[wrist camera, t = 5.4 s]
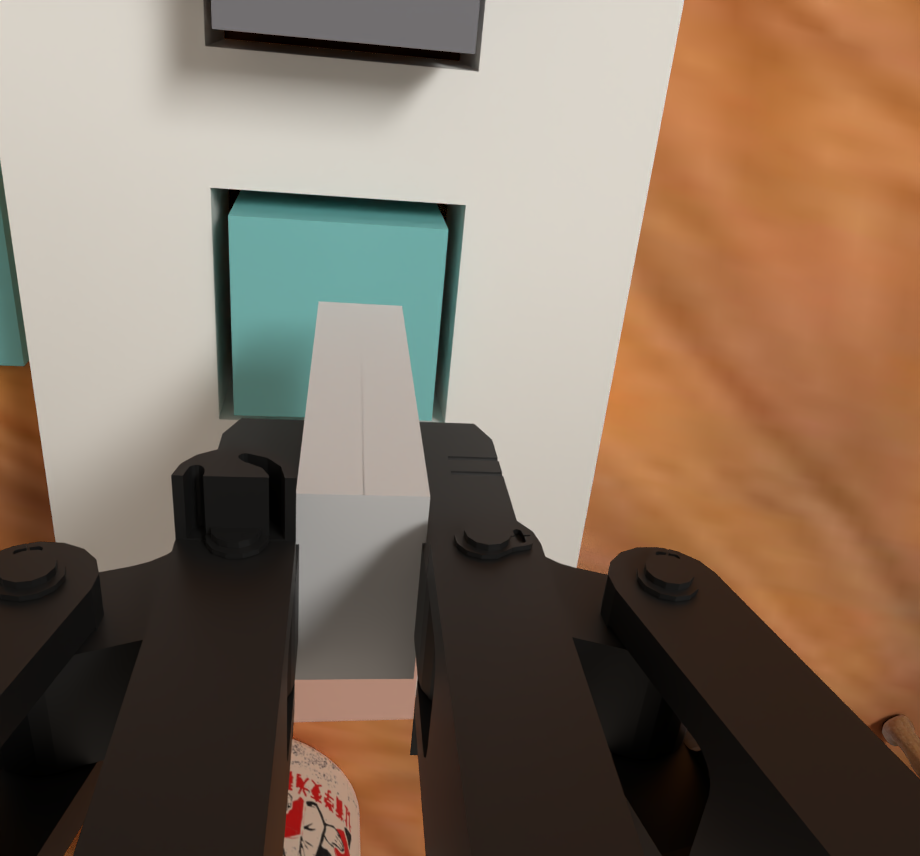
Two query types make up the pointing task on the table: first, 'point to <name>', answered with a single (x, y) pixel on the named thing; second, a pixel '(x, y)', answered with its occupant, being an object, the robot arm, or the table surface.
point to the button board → (331, 174)
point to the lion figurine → (904, 739)
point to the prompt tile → (9, 296)
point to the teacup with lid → (319, 807)
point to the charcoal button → (358, 21)
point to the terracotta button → (354, 699)
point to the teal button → (326, 286)
